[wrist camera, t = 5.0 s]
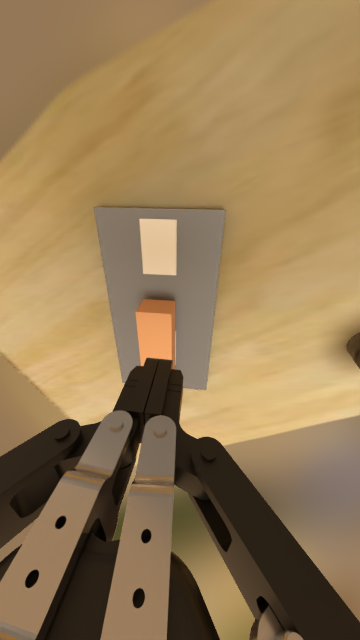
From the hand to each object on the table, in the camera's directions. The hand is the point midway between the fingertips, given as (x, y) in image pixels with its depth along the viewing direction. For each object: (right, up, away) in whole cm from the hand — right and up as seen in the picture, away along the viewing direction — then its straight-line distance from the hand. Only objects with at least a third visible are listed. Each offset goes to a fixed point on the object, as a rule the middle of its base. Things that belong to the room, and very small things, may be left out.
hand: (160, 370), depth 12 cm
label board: (-1, +2, +19) cm, 19 cm away
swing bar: (-2, -3, +19) cm, 19 cm away
